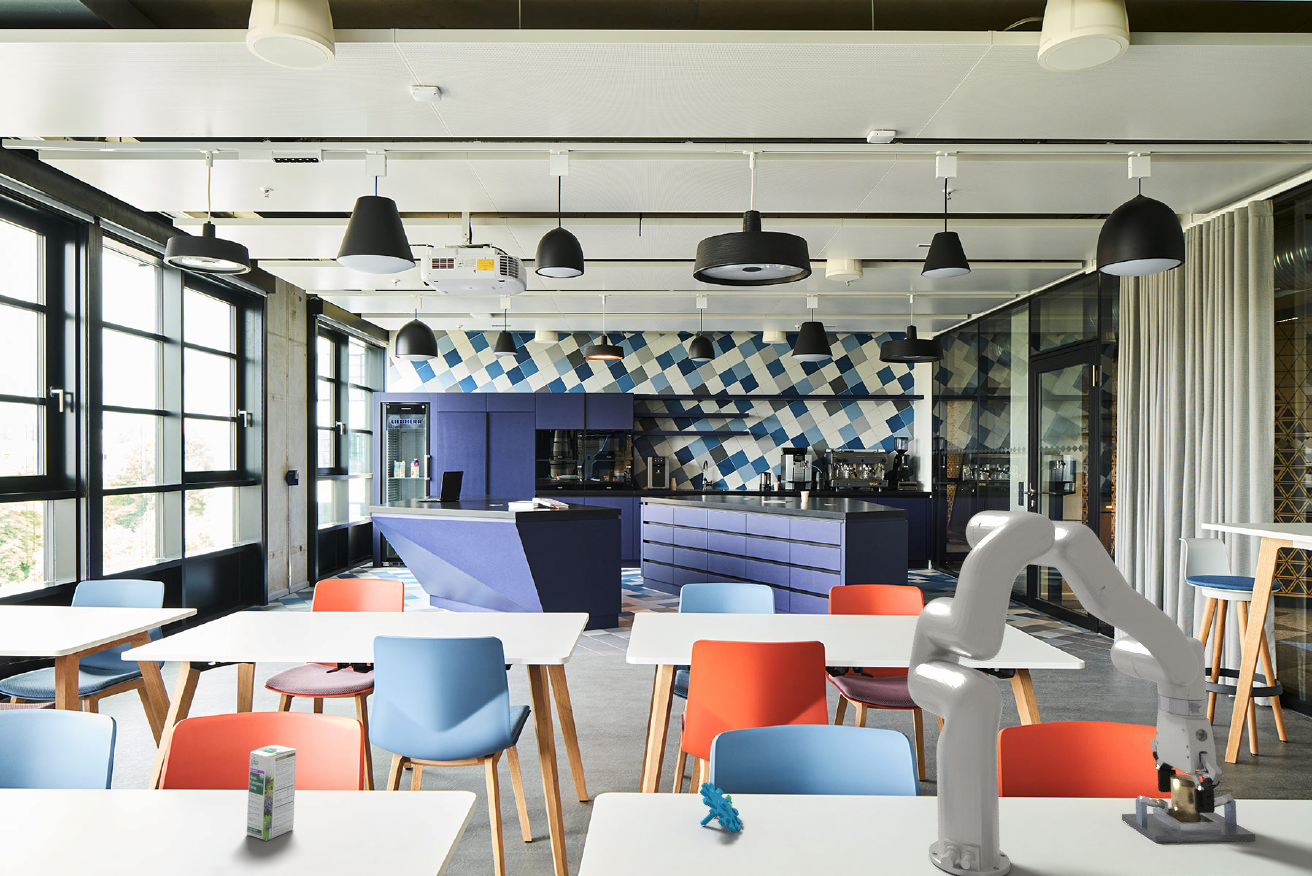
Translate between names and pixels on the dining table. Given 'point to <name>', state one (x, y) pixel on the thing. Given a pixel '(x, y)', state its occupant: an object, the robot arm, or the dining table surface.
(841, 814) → the dining table surface
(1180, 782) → the cylinder
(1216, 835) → the coupling stand
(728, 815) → the gear
